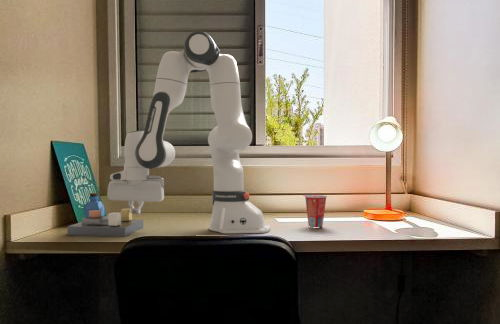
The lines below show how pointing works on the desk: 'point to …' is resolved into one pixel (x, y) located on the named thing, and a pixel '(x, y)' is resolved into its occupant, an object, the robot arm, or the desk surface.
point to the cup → (315, 209)
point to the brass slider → (126, 215)
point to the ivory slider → (114, 218)
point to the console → (104, 227)
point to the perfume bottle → (93, 205)
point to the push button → (95, 214)
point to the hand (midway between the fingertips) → (135, 213)
